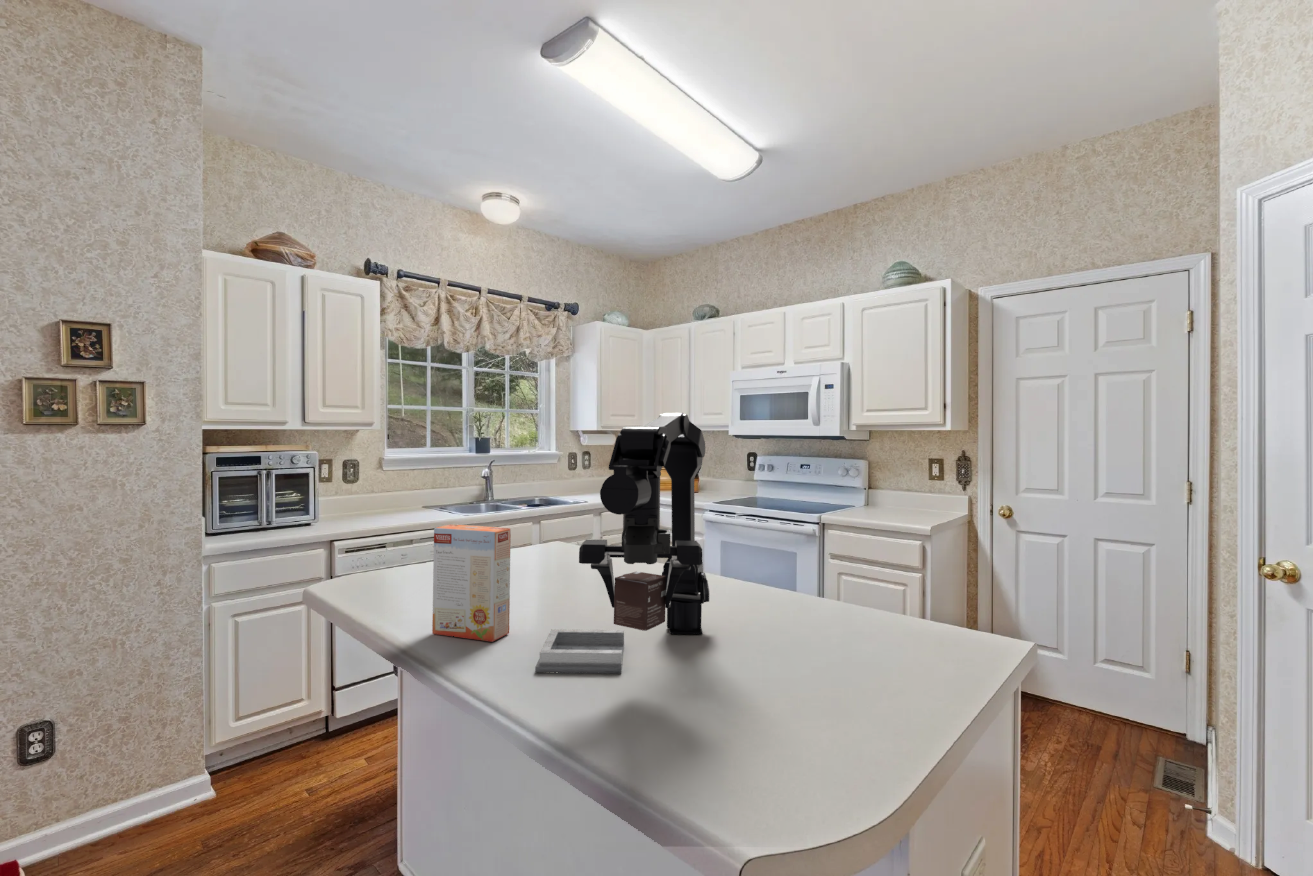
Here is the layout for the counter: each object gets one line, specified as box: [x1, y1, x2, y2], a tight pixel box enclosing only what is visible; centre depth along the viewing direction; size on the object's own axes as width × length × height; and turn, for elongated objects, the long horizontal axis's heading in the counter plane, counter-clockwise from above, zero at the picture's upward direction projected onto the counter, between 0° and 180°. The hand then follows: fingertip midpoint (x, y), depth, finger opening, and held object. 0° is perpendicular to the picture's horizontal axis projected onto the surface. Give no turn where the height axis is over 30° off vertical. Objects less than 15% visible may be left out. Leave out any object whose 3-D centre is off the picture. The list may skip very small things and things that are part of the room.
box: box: [613, 571, 666, 632], centre depth 93 cm, size 6×6×7 cm
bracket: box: [534, 628, 625, 675], centre depth 105 cm, size 14×14×3 cm
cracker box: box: [431, 524, 512, 643], centre depth 117 cm, size 14×6×21 cm, turn 71°
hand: (640, 607), depth 93 cm, fingers closed on box, 8 cm apart
